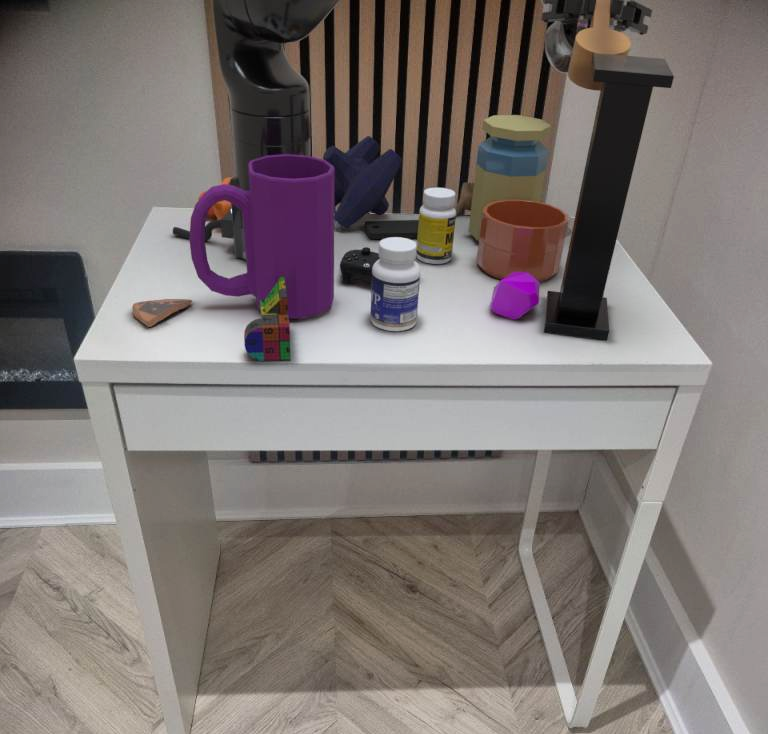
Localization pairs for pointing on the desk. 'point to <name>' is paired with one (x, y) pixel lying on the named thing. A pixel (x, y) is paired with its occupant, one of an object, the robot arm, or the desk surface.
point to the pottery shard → (157, 309)
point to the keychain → (392, 228)
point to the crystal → (515, 295)
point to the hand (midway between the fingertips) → (603, 4)
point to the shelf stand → (604, 192)
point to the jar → (509, 163)
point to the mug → (278, 232)
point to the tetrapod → (361, 180)
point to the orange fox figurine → (220, 204)
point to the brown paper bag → (465, 198)
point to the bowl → (521, 238)
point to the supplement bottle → (436, 226)
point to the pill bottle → (395, 285)
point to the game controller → (358, 264)
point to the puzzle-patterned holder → (270, 328)
